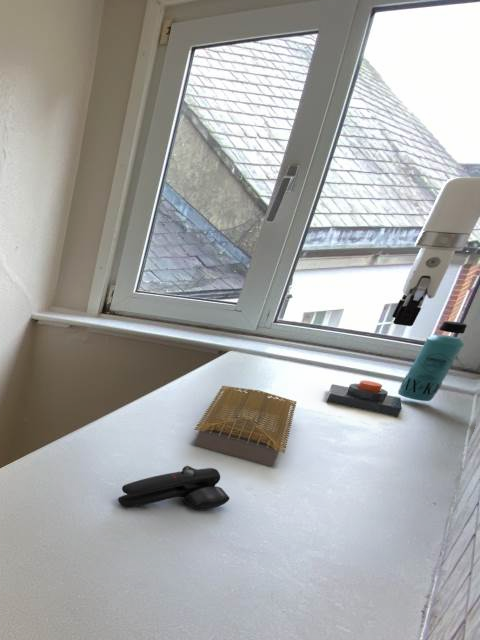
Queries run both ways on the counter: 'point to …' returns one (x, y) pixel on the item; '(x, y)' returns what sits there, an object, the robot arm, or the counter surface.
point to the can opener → (177, 489)
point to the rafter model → (246, 424)
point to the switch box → (365, 399)
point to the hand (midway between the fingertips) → (401, 321)
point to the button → (369, 386)
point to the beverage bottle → (432, 363)
